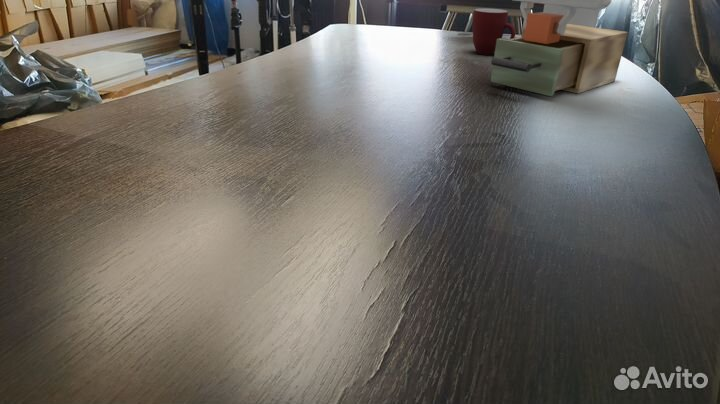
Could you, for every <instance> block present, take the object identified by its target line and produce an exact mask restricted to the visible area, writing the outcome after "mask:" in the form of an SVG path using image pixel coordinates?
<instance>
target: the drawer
mask: <svg viewBox="0 0 720 404" xmlns="http://www.w3.org/2000/svg"><path fill="white" fill-rule="evenodd" d="M523 39H524V37H521V36H519V37H515V38H513V39H510V38H508V39H506V38H502V39H501V38H500V39H497V42H496V48H495V52H494V56H492V58H491V61H490V64H491V65H492V69H491V75H490V83H495V84H498V85H503V86H507V87H511V88H515V89H519V90H523V91H527V92H532V93H535V94H541V95H544V96H547V97H552V96H554V95H555V92H557V91H560V89H563V88H567V87H570V86H573V85H576V82H577V78H578V73H579V69H580V65H581V60H582V56H583V52H584V47H585V43H579V42H572V41H566V40H560V39H559V42H554V43H549V44H543V43H537V42H531V41H525V40H523Z"/></svg>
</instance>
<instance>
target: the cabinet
mask: <svg viewBox="0 0 720 404" xmlns="http://www.w3.org/2000/svg"><path fill="white" fill-rule="evenodd" d="M628 33H629V32H628V31H623V30H616V29H609V28H601V27H587V26H580V25H573V24H567V25H566V30H565V33H564V34H562V35H560V40H566V41H572V42H579V43H585V47H584V52H583V56H582V60H581V65H580V69H579V73H578V78H577V82H576V85H573V86H570V87H567V88H563V89H560V90H561V91H564V92H569V93H575V94H581V93H583V92H586V91H590V90H593V89H595V88H598V87H602V86H605V85H608V84H611V83H613V82H615V81H616V78H617V74H618V70H619V67H620V63H621V61H622V60H621V59H622V56H623V53H624V48H625V44H626V41H627V36H628ZM524 34H525V29H523V28H522V30H521V34H520V35H521V36H520V37H524ZM560 90H559V91H560Z"/></svg>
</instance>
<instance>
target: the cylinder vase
mask: <svg viewBox="0 0 720 404" xmlns="http://www.w3.org/2000/svg"><path fill="white" fill-rule="evenodd" d="M543 5H544V6H543V11H542V12H544V13H552V14H560V15H565V13H562V11H563V6H558V5H549V4H543ZM599 13H600V10H593V9H584V8H577V9H576V14H575V15H574V16H573V17H572V19H571V20H570V21H569V22H568V23H567V24H573V25H580V26H587V27H595V28H597V23H598V18H599Z"/></svg>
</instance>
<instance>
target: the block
mask: <svg viewBox="0 0 720 404" xmlns="http://www.w3.org/2000/svg"><path fill="white" fill-rule="evenodd" d="M563 16H564V15H560V14H552V13H544V12H543V11H540V12H531V13H530V14H528V17H527V23H526V28H525V34H524V39H523V40H525V41H531V42H537V43H543V44H549V43H554V42H559V39H560V34H554V33H553V29H554V28H553V27H554V23H558V22H560V20H561V19H562V18H563Z"/></svg>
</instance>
